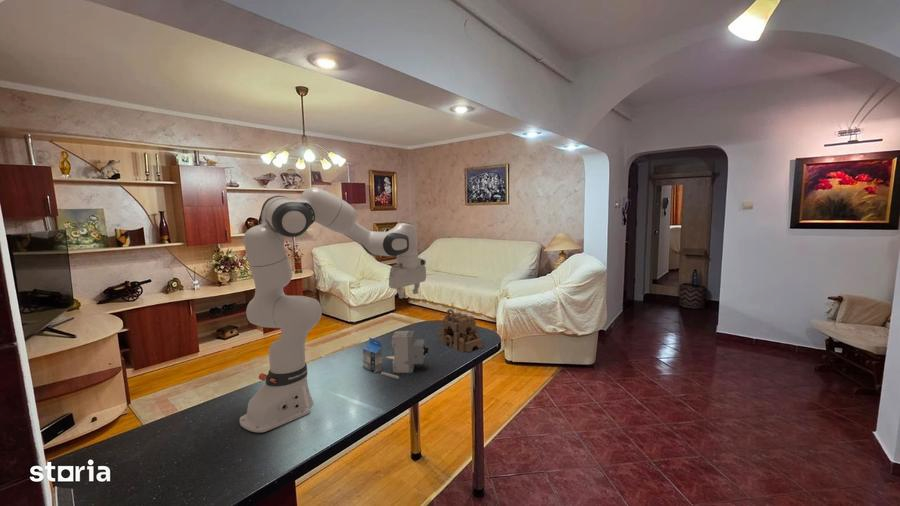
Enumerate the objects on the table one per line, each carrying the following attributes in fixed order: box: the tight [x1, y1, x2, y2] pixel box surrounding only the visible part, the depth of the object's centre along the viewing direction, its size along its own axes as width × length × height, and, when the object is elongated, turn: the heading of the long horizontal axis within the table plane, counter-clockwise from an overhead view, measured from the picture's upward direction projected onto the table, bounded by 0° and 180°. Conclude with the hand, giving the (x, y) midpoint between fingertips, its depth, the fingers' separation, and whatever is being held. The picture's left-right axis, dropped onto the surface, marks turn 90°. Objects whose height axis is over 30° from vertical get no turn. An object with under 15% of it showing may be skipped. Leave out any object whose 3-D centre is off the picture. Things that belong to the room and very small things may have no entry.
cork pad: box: [385, 355, 395, 361], centre depth 162 cm, size 7×10×1 cm
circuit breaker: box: [391, 330, 429, 374], centre depth 148 cm, size 8×14×15 cm, turn 89°
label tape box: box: [362, 337, 383, 374], centre depth 149 cm, size 9×4×12 cm, turn 48°
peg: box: [380, 371, 400, 380], centre depth 142 cm, size 1×9×1 cm, turn 58°
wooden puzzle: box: [438, 308, 484, 353], centre depth 176 cm, size 22×15×19 cm, turn 39°
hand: (408, 295), depth 146 cm, fingers open, 8 cm apart
